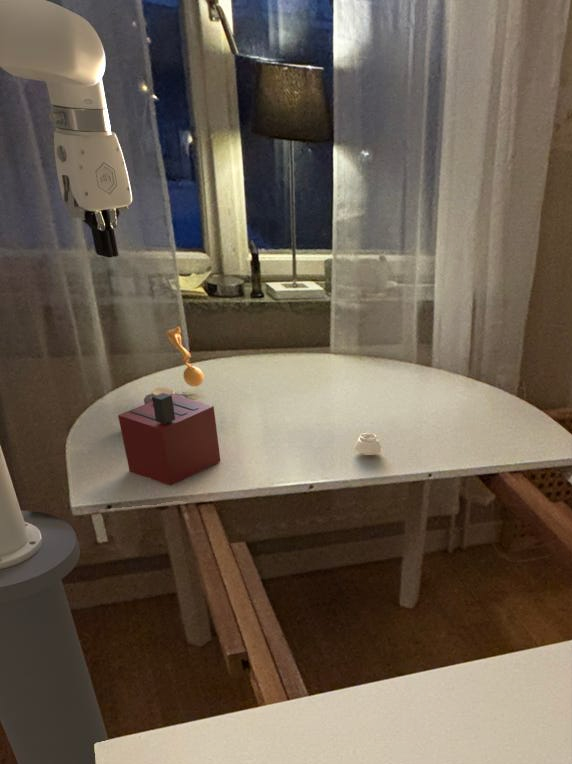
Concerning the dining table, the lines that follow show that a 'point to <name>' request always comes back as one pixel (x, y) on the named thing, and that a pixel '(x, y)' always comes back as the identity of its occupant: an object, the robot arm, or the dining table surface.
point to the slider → (163, 408)
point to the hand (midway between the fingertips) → (107, 255)
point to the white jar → (368, 444)
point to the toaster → (170, 441)
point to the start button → (162, 391)
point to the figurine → (186, 360)
